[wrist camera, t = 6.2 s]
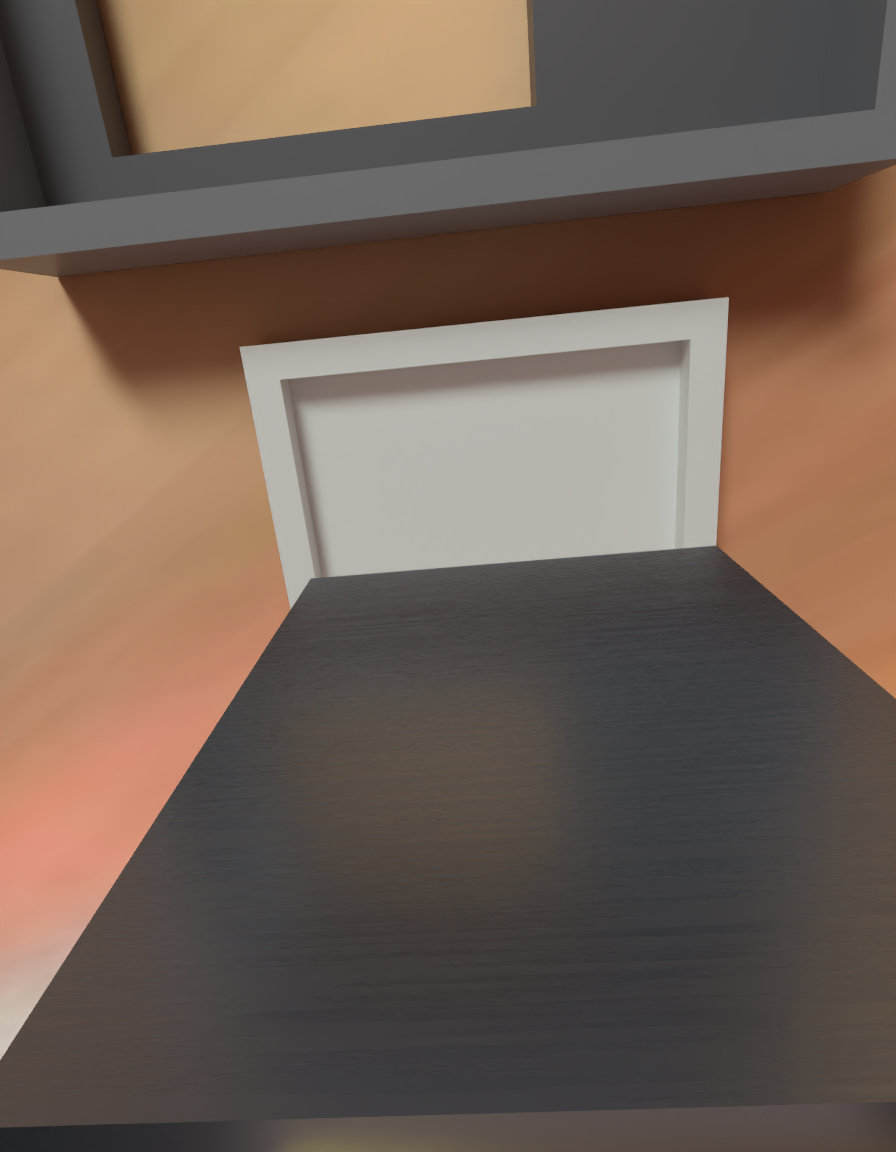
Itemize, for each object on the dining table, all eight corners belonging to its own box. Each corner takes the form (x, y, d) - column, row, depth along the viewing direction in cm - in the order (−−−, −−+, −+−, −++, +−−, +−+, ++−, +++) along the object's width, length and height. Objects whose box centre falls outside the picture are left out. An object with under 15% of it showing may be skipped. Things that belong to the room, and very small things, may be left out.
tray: (709, 299, 15) (729, 296, 14) (692, 702, 19) (706, 725, 18) (255, 346, 16) (239, 346, 15) (326, 726, 20) (318, 750, 19)
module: (715, 545, 8) (1534, 1245, 2) (700, 865, 10) (1090, 1763, 4) (310, 578, 8) (-134, 1265, 2) (366, 883, 10) (207, 1736, 4)
